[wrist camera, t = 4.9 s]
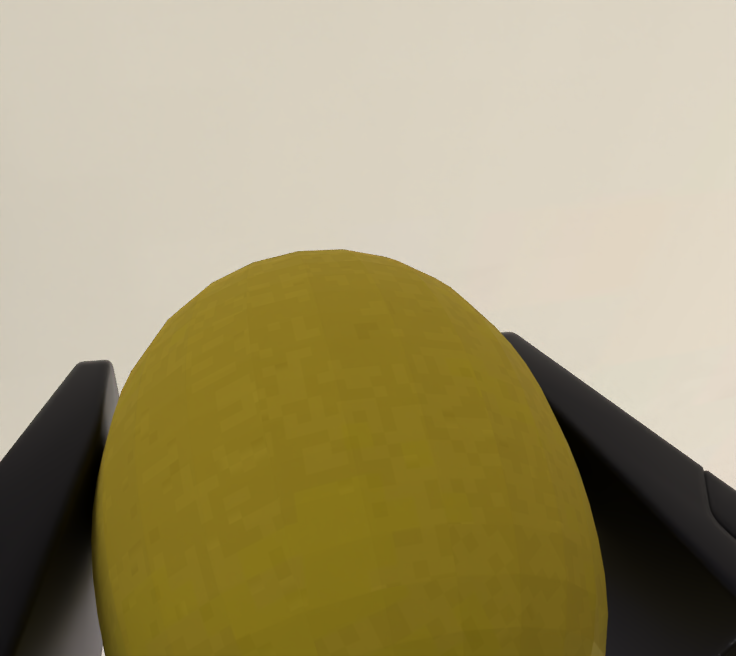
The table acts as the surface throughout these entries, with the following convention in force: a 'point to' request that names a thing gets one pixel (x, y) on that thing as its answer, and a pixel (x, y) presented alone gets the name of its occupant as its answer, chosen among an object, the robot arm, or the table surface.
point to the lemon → (340, 479)
